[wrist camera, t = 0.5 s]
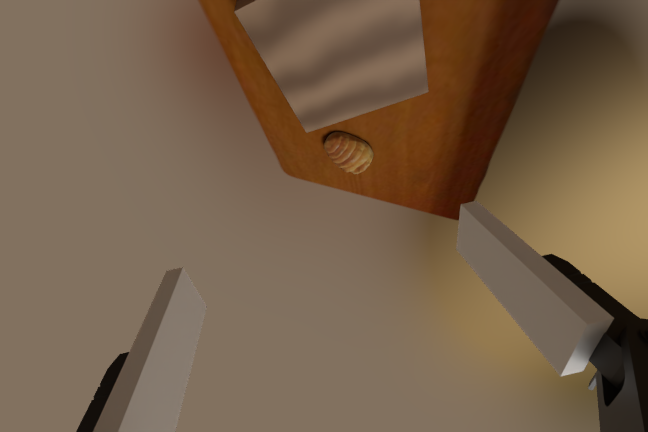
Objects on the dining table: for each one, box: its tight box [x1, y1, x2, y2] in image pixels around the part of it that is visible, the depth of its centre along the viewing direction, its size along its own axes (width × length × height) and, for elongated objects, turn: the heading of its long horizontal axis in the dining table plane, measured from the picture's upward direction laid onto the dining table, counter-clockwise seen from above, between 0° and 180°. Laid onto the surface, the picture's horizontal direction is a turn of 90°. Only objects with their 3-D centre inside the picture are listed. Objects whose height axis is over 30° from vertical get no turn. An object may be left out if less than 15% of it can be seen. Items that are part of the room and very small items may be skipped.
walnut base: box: [234, 0, 428, 133], centre depth 36 cm, size 18×18×4 cm
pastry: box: [324, 132, 374, 174], centre depth 52 cm, size 9×7×4 cm
